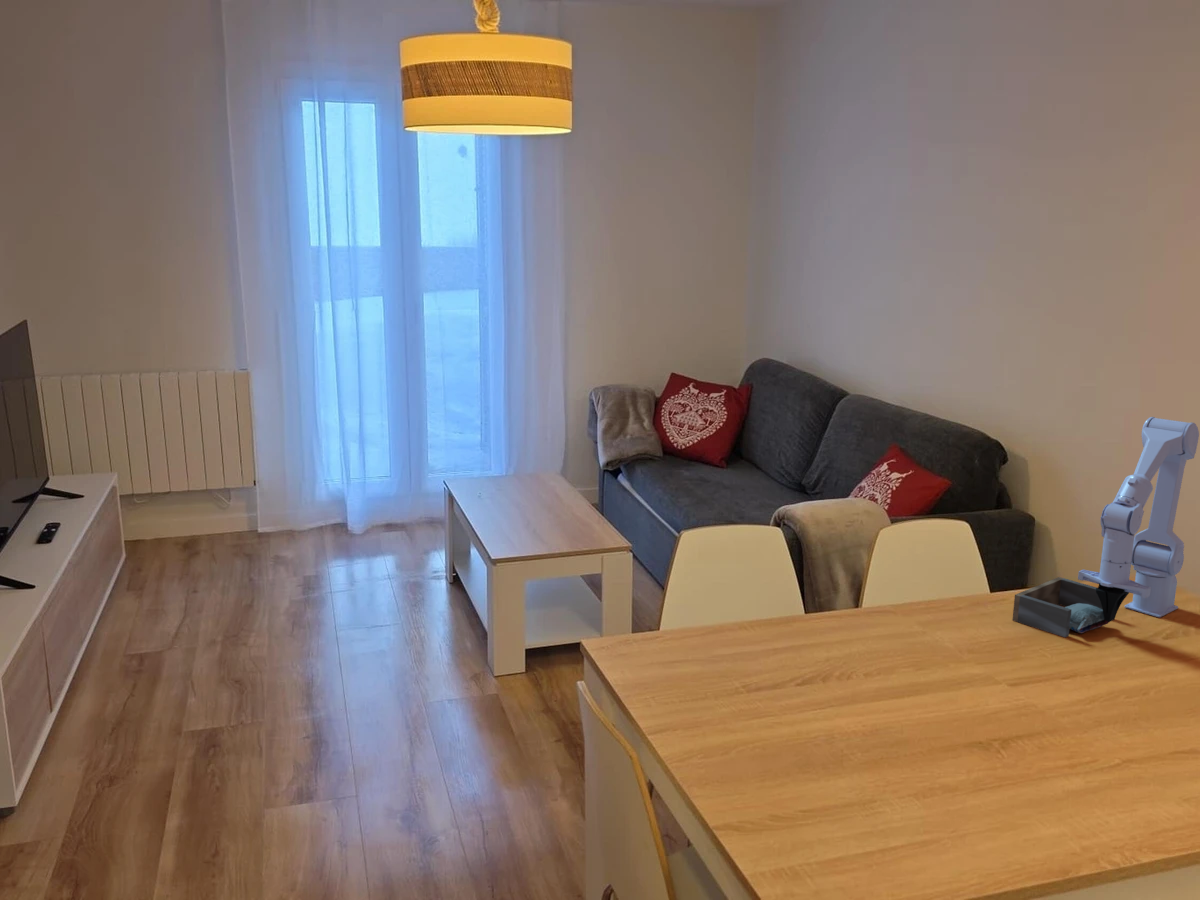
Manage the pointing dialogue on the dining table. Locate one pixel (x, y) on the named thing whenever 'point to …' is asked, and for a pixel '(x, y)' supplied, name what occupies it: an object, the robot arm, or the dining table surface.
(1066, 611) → the grey u-shaped bracket
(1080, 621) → the packaged food
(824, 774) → the dining table surface
